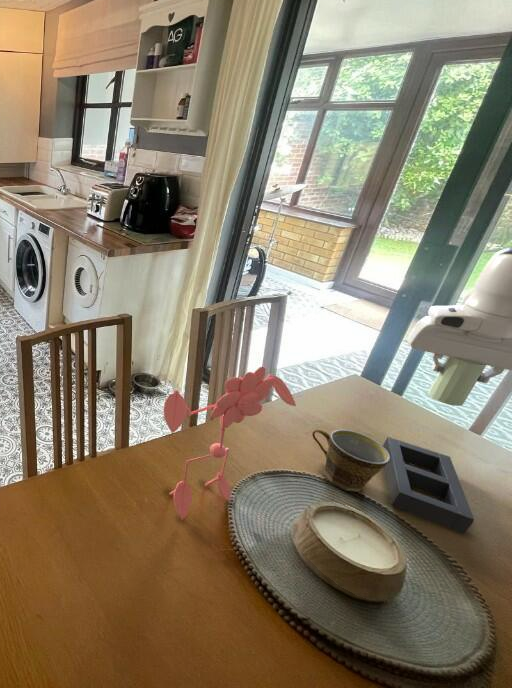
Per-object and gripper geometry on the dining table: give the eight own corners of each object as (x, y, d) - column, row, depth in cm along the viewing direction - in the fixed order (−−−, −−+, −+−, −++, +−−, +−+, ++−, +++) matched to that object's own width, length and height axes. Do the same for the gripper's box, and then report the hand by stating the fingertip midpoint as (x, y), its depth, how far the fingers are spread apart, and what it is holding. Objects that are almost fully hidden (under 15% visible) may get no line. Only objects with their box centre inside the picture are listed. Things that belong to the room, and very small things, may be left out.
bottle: (459, 396, 96) (491, 340, 89) (466, 409, 91) (500, 351, 85) (425, 387, 99) (454, 333, 92) (430, 399, 94) (461, 343, 88)
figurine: (133, 499, 86) (162, 359, 71) (233, 474, 93) (279, 340, 78) (180, 570, 73) (229, 415, 58) (293, 535, 79) (363, 387, 64)
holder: (441, 469, 94) (449, 456, 93) (464, 533, 80) (474, 519, 78) (380, 449, 100) (387, 436, 98) (391, 505, 85) (399, 492, 84)
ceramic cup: (376, 482, 91) (395, 448, 87) (364, 506, 85) (383, 471, 81) (309, 448, 100) (323, 416, 96) (293, 468, 94) (308, 435, 90)
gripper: (556, 329, 84) (520, 384, 89) (421, 304, 94) (396, 356, 100) (570, 341, 79) (531, 399, 85) (426, 314, 90) (400, 367, 95)
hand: (457, 375), depth 92 cm, fingers closed on bottle, 6 cm apart
